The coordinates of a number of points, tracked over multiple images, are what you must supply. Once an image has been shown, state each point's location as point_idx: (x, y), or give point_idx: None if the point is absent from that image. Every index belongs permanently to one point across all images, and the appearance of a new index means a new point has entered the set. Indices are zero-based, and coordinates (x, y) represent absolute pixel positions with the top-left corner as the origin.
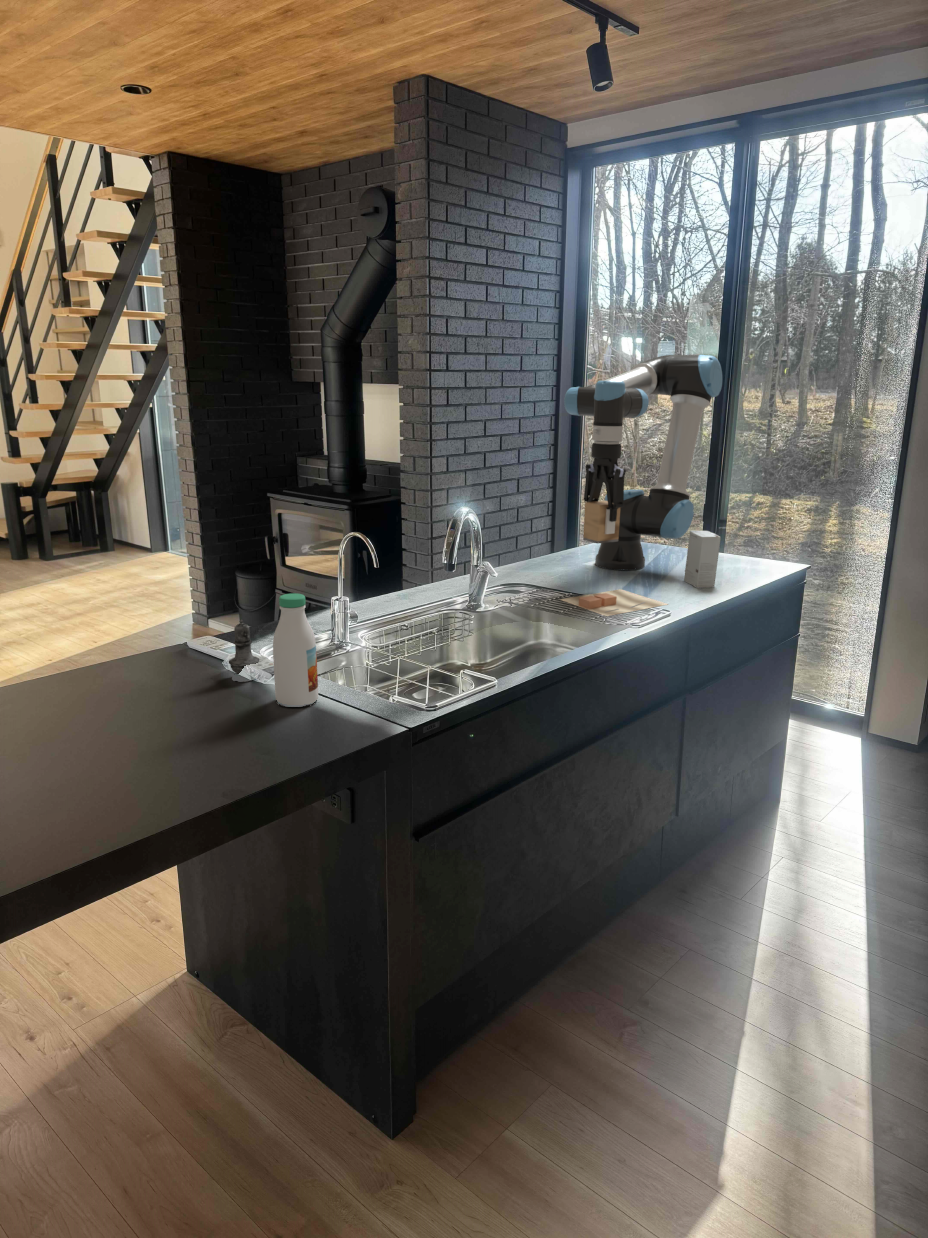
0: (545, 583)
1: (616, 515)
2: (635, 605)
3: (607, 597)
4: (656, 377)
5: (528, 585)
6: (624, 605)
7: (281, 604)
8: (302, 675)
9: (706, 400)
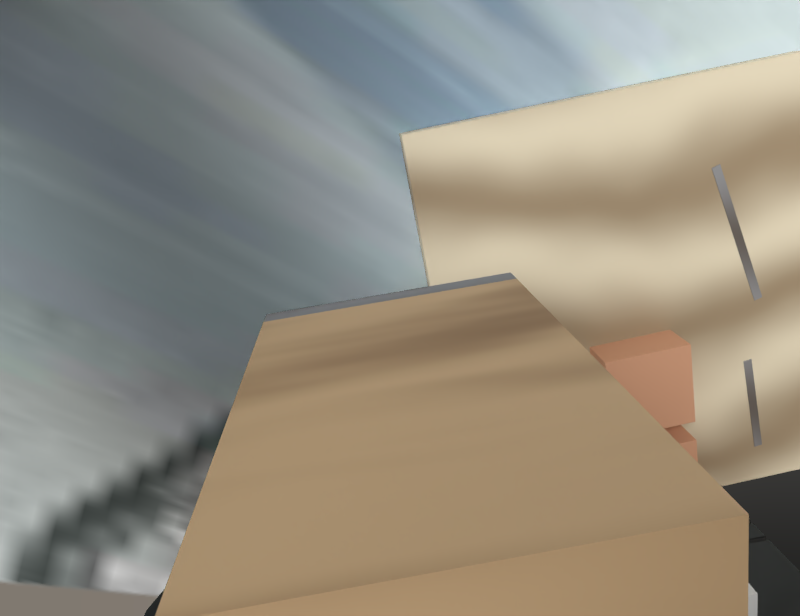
0: (51, 435)
1: (768, 544)
2: (739, 249)
3: (682, 397)
4: None
5: (77, 532)
6: (710, 302)
7: None
8: None
9: None
